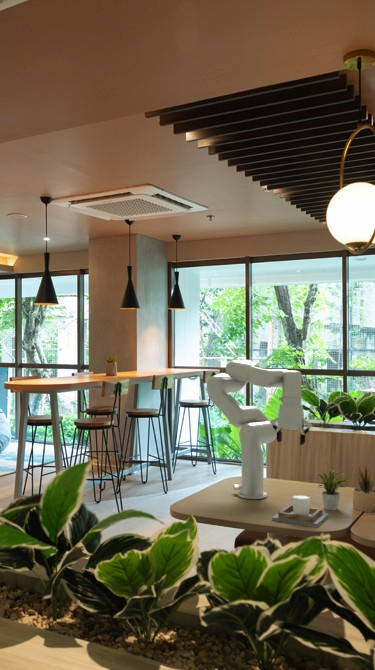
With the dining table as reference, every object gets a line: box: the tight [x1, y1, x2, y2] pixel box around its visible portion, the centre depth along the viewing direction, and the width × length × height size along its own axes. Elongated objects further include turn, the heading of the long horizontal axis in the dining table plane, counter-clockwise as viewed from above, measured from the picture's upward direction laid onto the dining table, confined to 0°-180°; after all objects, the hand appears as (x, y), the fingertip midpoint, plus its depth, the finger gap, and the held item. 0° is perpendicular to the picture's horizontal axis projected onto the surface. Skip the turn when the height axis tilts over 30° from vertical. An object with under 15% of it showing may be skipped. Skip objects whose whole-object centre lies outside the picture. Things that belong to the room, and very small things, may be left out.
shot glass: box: [291, 494, 311, 516], centre depth 227 cm, size 7×7×7 cm
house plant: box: [314, 466, 352, 511], centre depth 241 cm, size 14×14×16 cm
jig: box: [271, 504, 329, 528], centre depth 227 cm, size 17×15×3 cm
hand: (290, 442), depth 245 cm, fingers open, 9 cm apart
